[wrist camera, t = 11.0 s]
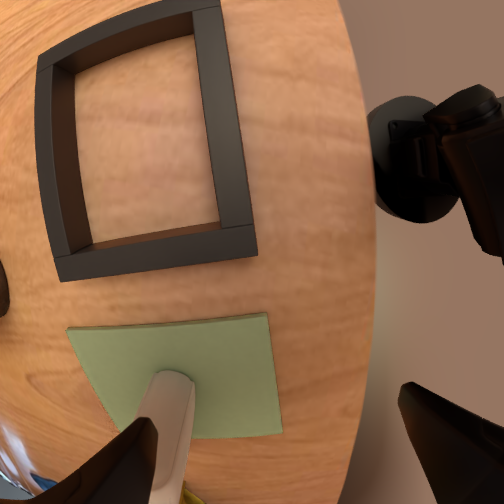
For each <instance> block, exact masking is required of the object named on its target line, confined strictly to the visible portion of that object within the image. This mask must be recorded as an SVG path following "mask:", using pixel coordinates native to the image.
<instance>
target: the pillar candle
mask: <svg viewBox="0 0 504 504" xmlns="http://www.w3.org/2000/svg"><path fill="white" fill-rule="evenodd" d="M8 305H9V293H8V287H7V283H6V278H5V274H4V271H3V268H2V265H1V263H0V318H1V317H2V316H4V315H5V314H6V312H7V309H8Z"/></svg>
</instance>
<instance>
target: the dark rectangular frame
mask: <svg viewBox="0 0 504 504" xmlns="http://www.w3.org/2000/svg"><path fill="white" fill-rule="evenodd" d="M193 33H194V37H195V46H196V55H197V63H198V72H199V80H200V88H201V95H202V103H203V110H204V118H205V125H206V132H207V139H208V146H209V153H210V160H211V166H212V173H213V180H214V186H215V192H216V199H217V205H218V211H219V217H220V222H213V223H207V224H200V225H194V226H188V227H182V228H176V229H170V230H164V231H159V232H153V233H147V234H142V235H136V236H131V237H125V238H120V239H115V240H110V241H105V242H99V243H94V244H92V243H93V242H92V238H91V234H90V229H89V224H88V219H87V214H86V209H85V204H84V198H83V192H82V185H81V178H80V171H79V163H78V153H77V143H76V129H75V108H74V74H76V73H78V72H81V71H83V70H85V69H87V68H89V67H91V66H94V65H96V64H98V63H101V62H103V61H106V60H108V59H111V58H113V57H116V56H118V55H121V54H124V53H126V52H129V51H132V50H135V49H138V48H141V47H144V46H147V45H151V44H154V43H157V42H161V41H165V40H168V39H172V38H176V37H180V36H184V35H189V34H193ZM36 74H37V75H36V83H35V107H34V126H35V150H36V163H37V173H38V181H39V189H40V196H41V202H42V208H43V214H44V219H45V224H46V229H47V233H48V238H49V242H50V246H51V250H52V254H53V258H54V262H55V266H56V270H57V273H58V276H59V280H60V282H69V281H76V280H84V279H91V278H99V277H107V276H114V275H122V274H129V273H136V272H144V271H151V270H159V269H166V268H173V267H181V266H188V265H195V264H203V263H210V262H217V261H224V260H232V259H239V258H246V257H253V256H258V247H257V239H256V232H255V225H254V218H253V211H252V204H251V197H250V191H249V184H248V177H247V170H246V163H245V157H244V150H243V143H242V137H241V130H240V123H239V117H238V110H237V103H236V97H235V90H234V84H233V77H232V71H231V64H230V58H229V52H228V45H227V39H226V32H225V26H224V20H223V14H222V8H221V2H220V0H162V1H158V2H155V3H151V4H148V5H145V6H142V7H139V8H136V9H133V10H130V11H128V12H125V13H122V14H120V15H117V16H115V17H112V18H110V19H107V20H105V21H103V22H100V23H98V24H96V25H94V26H92V27H89V28H87V29H85V30H83V31H81V32H79V33H77V34H75V35H73V36H71V37H70V38H68V39H66V40H64V41H62V42H61V43H59V44H57V45H55V46H54V47H52V48H50V49H49V50H47V51H45V52H44V53H42V54H40V55H39V56H38V61H37V70H36Z"/></svg>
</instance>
